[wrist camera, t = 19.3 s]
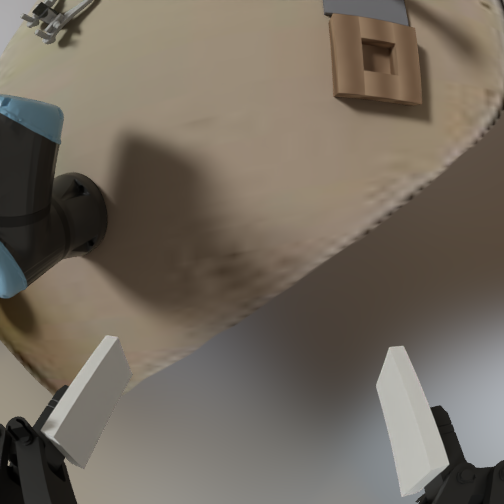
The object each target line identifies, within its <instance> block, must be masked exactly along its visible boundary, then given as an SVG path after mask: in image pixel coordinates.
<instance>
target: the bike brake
mask: <svg viewBox="0 0 504 504" xmlns="http://www.w3.org/2000/svg"><path fill="white" fill-rule="evenodd" d="M92 1H93V0H84V1H82V2H81V3H80V4H79V5H77V6H75V7H74V8H72V9H71V10H69V11H67V12H66V13H65V14H64V15H63V14H61V13H58V12H56V11H55V10H53V9H52V8H51V7H52V6H53V5H54V4H55V2H56V0H45V2H44V3H43V2H41V3H40V4H37V5H36V8H35V9H34V11H33V12H32V13H33V17H32V18H31V17H30V16H28V15H26V14H24V13H23V14H22V15H21V16H20V18H22V19H24V20H26V21H28V22H27V27H29V28H32V27H33V26H37V25H39V20H42V21H43V22H45V23H47V24H48V26H47V28H46V29H45V30H44V31H46V32H47V34H46V33H44V32H42V31H40V30H36V31H35V35H37V36H39V37H41V38H43V42H44V43H46V44H51V43H54V42H55V40H56V39H55V36H56V35H57V34H58V32H59V31H60V30H61V28H62V27H63V26H64V25H65V24H66V23H67V22H68V21H69V20H70V19H72V18H73V17H74V16H75V15H76V14H77V13H79V12H80V11H81V10H82V9H84V8H85V7H86V6H87V5H88V4H90V3H91V2H92Z"/></svg>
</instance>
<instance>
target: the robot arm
mask: <svg viewBox="0 0 504 504" xmlns="http://www.w3.org/2000/svg"><path fill="white" fill-rule="evenodd" d="M63 121H64V115H63V112H62V110H61V109H60V108H59V107H58V106H55V105H52V104H49V103H45V102H41V101H37V100H32V99H27V98H22V97H17V96H11V95H4V94H0V297H1V298H10V297H13V296H14V295H15V294H17V293H18V292H20V291H21V290H25V289H26V288H27V287H28V286H29V285H30V284H31V283H33V282H34V281H35V280H36V279H38V278H39V277H40V276H41V275H43V274H44V273H45V272H46V271H48V270H49V269H50V268H52V267H53V266H54V265H55V264H57V263H58V262H59V261H61V260H62V259H65V258H71V257H77V256H82V255H85V254H87V253H89V252H90V251H92V250H93V249H95V248H96V247H97V246H98V245H99V244H100V243H101V241H102V240H103V238H104V235H105V232H106V228H107V211H106V206H105V202H104V200H103V197H102V195H101V193H100V191H99V189H98V188H97V187H96V185H95V184H94V183H93V182H92V181H91V180H90V179H89V178H87V177H86V176H84V175H82V174H79V173H66V174H63V175H60V176H58V177H56V178H54V174H55V168H56V162H57V156H58V150H59V145H60V144H61V139H60V138H61V132H62V126H63ZM132 375H133V374H132V372H131V370H130V367H129V365H128V362H127V359H126V357H125V354H124V352H123V349H122V346H121V343H120V341H119V338H118V337H115V336H109V335H106V336H105V338H104V339H103V340H102V342H101V343H100V344H99V346H98V347H97V348H96V350H95V351H94V352H93V354H92V355H91V357H90V358H89V359H88V361H87V362H86V363H85V365H84V366H83V368H82V369H81V370H80V372H79V373H78V375H77V376H76V378H75V379H74V380H73V382H72V383H71V385H70V386H67V385H64V386H63V387H62V388H60V389H59V390H58V391H57V392H56V393H55V395H54V396H53V398H52V400H51V401H50V402H49V404H48V406H46V408H45V409H44V411H43V412H42V414H41V415H40V417H39V418H38V420H37V422H36V423H35V425H34V426H33V427H31V426H30V424H29V423H28V422H27V421H26V420H25V419H24V418H22V417H14V418H12V419H11V420H10V421H9V422H8V423H7V425H6V428H5V427H4V426H3V425H2V424H0V504H77V501H76V499H75V495H74V492H73V489H72V486H71V483H70V479H69V475H68V472H67V468H66V465H65V463H64V459H65V457H66V458H67V459H68V460H69V461H70V462H71V463H72V464H74V465H76V466H79V467H81V468H83V469H84V468H85V466H86V464H87V462H88V460H89V458H90V456H91V454H92V452H93V450H94V448H95V446H96V444H97V442H98V440H99V438H100V435H101V434H102V431H103V430H104V428H105V426H106V424H107V422H108V420H109V418H110V416H111V414H112V412H113V410H114V408H115V406H116V405H117V403H118V401H119V399H120V397H121V395H122V393H123V391H124V389H125V388H126V386H127V384H128V382H129V380H130V378H131V377H132ZM376 388H377V391H378V395H379V399H380V402H381V406H382V410H383V414H384V418H385V422H386V426H387V430H388V434H389V438H390V442H391V447H392V451H393V455H394V460H395V465H396V470H397V475H398V480H399V485H400V491H401V497H403V496H407V495H411V494H414V493H418V492H419V491H421V489H423V488H424V489H425V494H423V495H422V496H421V497H420V498H418V500H417V501H416V502H419V501H420V502H419V504H504V460H503V461H501V462H499V463H498V464H497V465H496V466H494V467H485V468H476V467H475V466H474V465H472V464H471V463H467V461H466V460H465V458H464V455H463V452H462V449H461V447H460V444H459V441H458V439H457V436H456V433H455V432H454V428H453V425H451V420H450V418H449V415H448V413H447V412H446V411H445V410H444V409H443V408H442V407H441V406H435V407H429V404H428V402H427V399H426V397H425V394H424V392H423V389H422V387H421V384H420V382H419V380H418V377H417V375H416V373H415V370H414V368H413V366H412V364H411V361H410V359H409V357H408V355H407V352H406V350H405V348H404V346H397V347H389V350H388V353H387V356H386V359H385V362H384V365H383V367H382V371H381V373H380V376H379V379H378V382H377V384H376ZM8 460H9V461H10V465H9V466H8Z"/></svg>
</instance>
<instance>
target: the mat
mask: <svg viewBox="0 0 504 504" xmlns="http://www.w3.org/2000/svg"><path fill="white" fill-rule="evenodd" d="M323 7H324V15H332V14H333V13H336V14H345V15H353V16H360V17H366V18H372V19H378V20H383V21H388V22H392V23H397V24H401V25H405V26H409V25H408V19H407V14H406V9H405V4H404V0H323Z"/></svg>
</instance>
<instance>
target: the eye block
mask: <svg viewBox="0 0 504 504" xmlns="http://www.w3.org/2000/svg"><path fill="white" fill-rule="evenodd" d="M329 33H330V45H331V58H332V75H333V97H346V98H357V99H366V100H375V101H382V102H389V103H396V104H402V105H408V106H413V105H420V104H422V90H421V75H420V64H419V55H418V46H417V39H416V32H415V28H413V27H409V26H405V25H401V24H397V23H392V22H388V21H383V20H378V19H372V18H366V17H360V16H353V15H345V14H336V13H333V14H332V17H331V19H330V21H329Z"/></svg>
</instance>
